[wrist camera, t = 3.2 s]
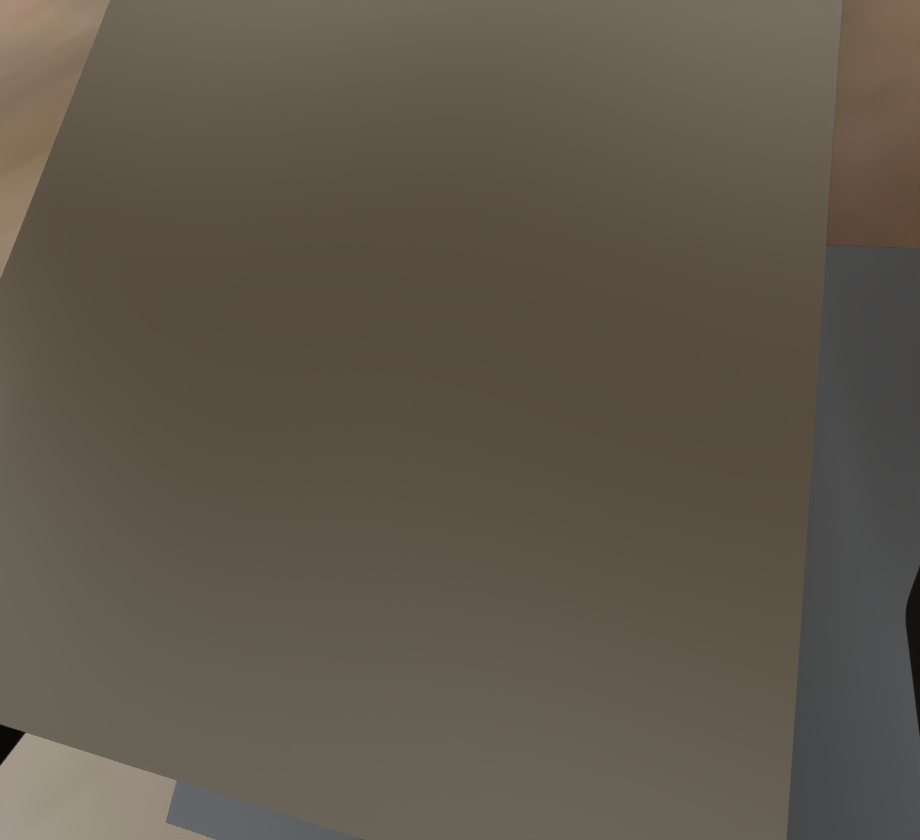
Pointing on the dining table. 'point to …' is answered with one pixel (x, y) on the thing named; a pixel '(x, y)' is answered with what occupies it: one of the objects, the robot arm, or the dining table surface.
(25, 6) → the dining table surface
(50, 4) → the dining table surface
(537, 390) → the birch block
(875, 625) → the pocket plate
